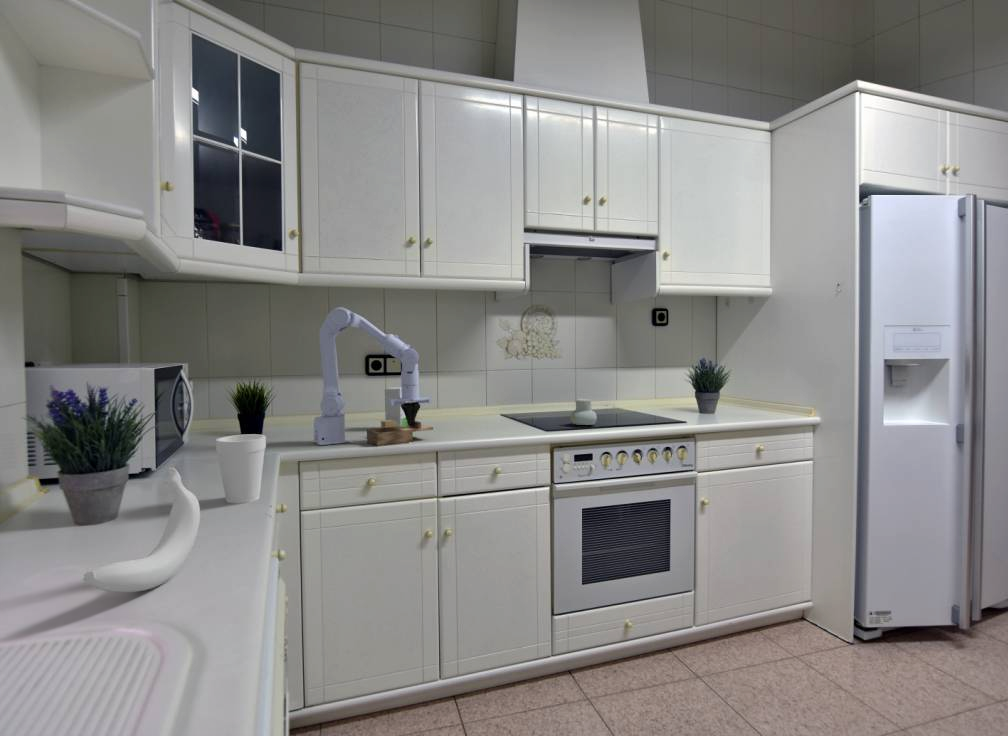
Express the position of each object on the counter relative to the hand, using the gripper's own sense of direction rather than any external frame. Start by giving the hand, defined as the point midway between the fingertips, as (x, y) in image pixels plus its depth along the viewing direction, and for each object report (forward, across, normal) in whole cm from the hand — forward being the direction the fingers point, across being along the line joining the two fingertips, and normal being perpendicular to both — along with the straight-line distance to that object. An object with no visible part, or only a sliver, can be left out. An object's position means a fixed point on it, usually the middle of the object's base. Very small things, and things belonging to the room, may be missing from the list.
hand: (410, 425), depth 187 cm
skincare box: (+5, +6, +25) cm, 26 cm away
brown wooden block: (+5, -8, 0) cm, 9 cm away
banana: (+5, -76, -82) cm, 112 cm away
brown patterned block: (+5, -4, +11) cm, 12 cm away
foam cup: (+5, -58, -44) cm, 73 cm away
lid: (+1, +1, 0) cm, 2 cm away
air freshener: (+5, +68, -10) cm, 68 cm away
